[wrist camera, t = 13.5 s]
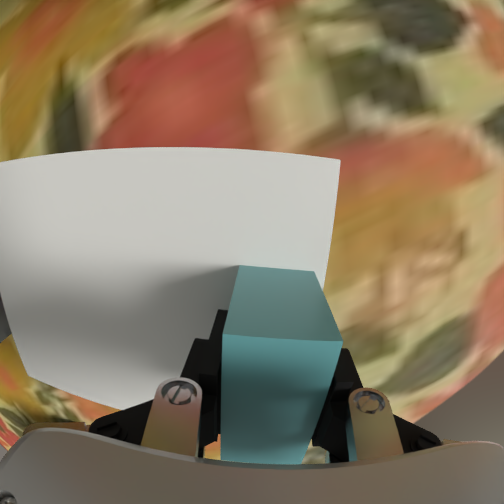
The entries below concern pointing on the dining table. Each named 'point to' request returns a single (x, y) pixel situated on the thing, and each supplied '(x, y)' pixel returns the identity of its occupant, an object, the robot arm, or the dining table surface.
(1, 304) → the tub
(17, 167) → the lid
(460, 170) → the dining table surface
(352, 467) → the robot arm
